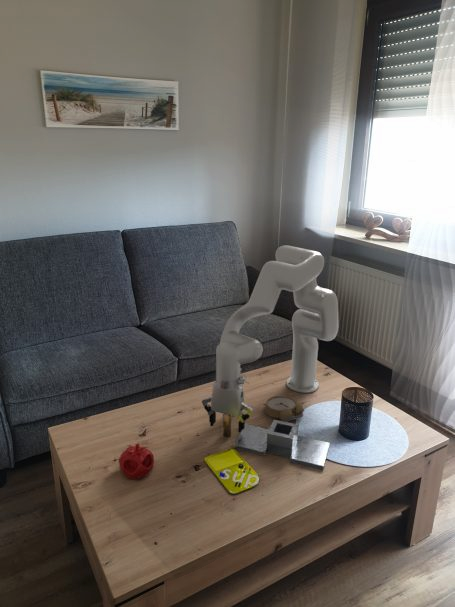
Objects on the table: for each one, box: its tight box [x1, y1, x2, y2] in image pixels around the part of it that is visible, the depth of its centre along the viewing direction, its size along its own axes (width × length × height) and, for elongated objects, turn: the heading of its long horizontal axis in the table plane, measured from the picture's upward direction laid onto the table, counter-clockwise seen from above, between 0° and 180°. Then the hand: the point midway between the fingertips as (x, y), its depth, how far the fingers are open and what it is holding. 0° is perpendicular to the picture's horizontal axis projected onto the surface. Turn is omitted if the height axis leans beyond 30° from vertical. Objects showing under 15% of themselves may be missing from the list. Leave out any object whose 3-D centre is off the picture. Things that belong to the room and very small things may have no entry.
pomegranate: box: [118, 441, 155, 480], centre depth 139 cm, size 10×10×9 cm
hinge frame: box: [233, 419, 330, 471], centre depth 151 cm, size 12×28×7 cm, turn 70°
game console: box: [203, 448, 260, 496], centre depth 142 cm, size 18×11×2 cm, turn 30°
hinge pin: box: [222, 413, 232, 439], centre depth 157 cm, size 3×3×10 cm
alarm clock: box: [262, 395, 305, 423], centre depth 171 cm, size 11×5×15 cm
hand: (226, 427), depth 157 cm, fingers open, 9 cm apart
